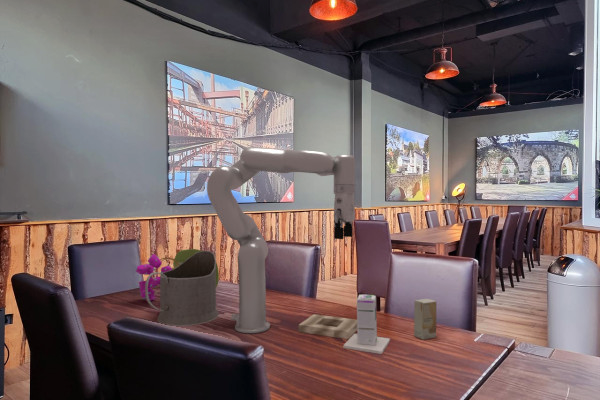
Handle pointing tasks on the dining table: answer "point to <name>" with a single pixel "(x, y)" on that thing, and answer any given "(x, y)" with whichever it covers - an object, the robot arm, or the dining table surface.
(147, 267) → the purple flowering plant
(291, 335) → the dining table surface
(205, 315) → the pitcher
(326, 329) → the frame
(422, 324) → the skincare box
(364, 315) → the syrup box
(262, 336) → the dining table surface
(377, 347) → the plate
